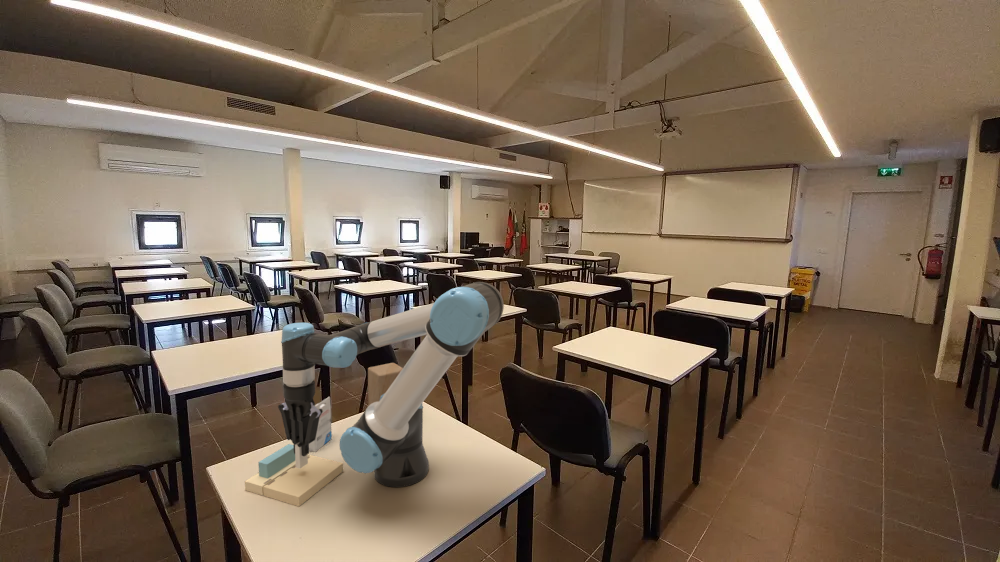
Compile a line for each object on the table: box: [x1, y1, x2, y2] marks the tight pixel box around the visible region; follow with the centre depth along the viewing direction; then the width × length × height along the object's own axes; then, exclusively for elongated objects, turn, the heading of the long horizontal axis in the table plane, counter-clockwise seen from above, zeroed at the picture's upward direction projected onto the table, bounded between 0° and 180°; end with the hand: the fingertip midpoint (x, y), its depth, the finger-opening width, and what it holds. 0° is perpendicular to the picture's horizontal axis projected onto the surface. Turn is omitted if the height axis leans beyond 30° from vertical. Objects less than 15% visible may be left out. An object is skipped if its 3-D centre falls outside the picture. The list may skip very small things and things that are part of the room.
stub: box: [244, 443, 311, 496], centre depth 113 cm, size 6×16×6 cm, turn 161°
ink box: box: [309, 396, 333, 453], centre depth 130 cm, size 8×5×15 cm, turn 168°
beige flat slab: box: [263, 454, 344, 507], centre depth 111 cm, size 12×16×3 cm
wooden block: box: [367, 362, 404, 406], centre depth 145 cm, size 10×10×20 cm
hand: (301, 465), depth 111 cm, fingers closed
